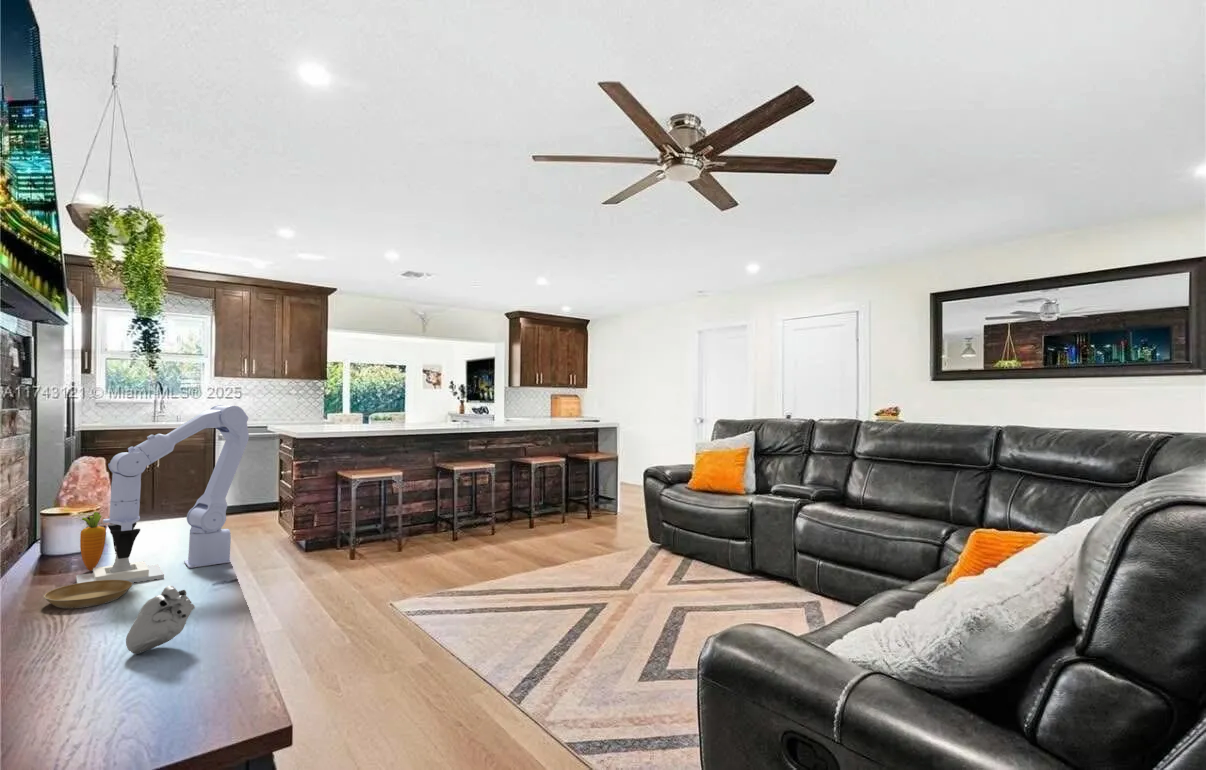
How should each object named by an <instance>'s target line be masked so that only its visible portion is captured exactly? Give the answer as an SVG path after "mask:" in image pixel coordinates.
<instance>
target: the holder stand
mask: <svg viewBox="0 0 1206 770" xmlns="http://www.w3.org/2000/svg"><path fill="white" fill-rule="evenodd" d="M129 563H130V565H131V566H132V569H131V570H129V571H122V572H114V573H111V571H110V569H111V568H112V567H113V565H114V564H112V565H105V566H96V567H95V568H93V570H92V572H91V573H81V574H76V578H75V579H76V580H75V581H76V584H77V583H83V582H90V581H98V580H125V581H130V582H131V583H132V584H135V583H134V582H137V583H141V582H140V581H143V582H147V581H146V580H150V581H155V580H154V579H157V580H162V578H163V579H165V573H164V572H163V570H162V569H161V567H160V566H159V564H150V565H147V564H146V561H145V560H144V561H143V560H142V561H135V562H129Z"/></svg>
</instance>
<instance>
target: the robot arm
mask: <svg viewBox="0 0 1206 770" xmlns="http://www.w3.org/2000/svg"><path fill="white" fill-rule="evenodd" d="M248 420H249V416H248V415H247V413H246V412H245V411H244V409H243V408H242V407H240V406H237V405H222V404H217V405H214V406H212V407H210V408H209V409H206V410H203V411H202V412H200V413H199V414H197V415H196V416H194V417H193V418H191V419H189V420H187V421H186V422H184V423H182V424H181V425H179V426H178V427H176V428H174V429H172V430H171V431H170V432H168V433H167V434H162V433H157V434H155V435H154V434H150V435H148V436H146V438H147V439H146V440H144V441H142V442H141V443H139V444H137V445H135V446H133V445H132V446H130V447H128V448H127V450H128V452H127V451H126V452H119V453H117V454H115V455H114V456H113V457H112V458H111V460H110V462H109V463H108V464H107V465H108V469H109V471H110V472H111V473H112V474H111V475H112V476H111V487H110V488H111V489H110V501H109V503H110V505H109V518H104V519H102V523H103V524H107V527H108V529H109V532H110V534H111V537H112V543H113V548H114V547H115V546H116V549H115V548H114V552H115V553H116V552H117V557H118V559H122V558H129V559H130V556H131V553H132V550H133V546H134V543H135V541H136V538H137V536H138V535H139V533H140V532H141V528H136V525H137V524H138V522H139V521H140V520H141V516H140V506H141V503H140V502H141V488H142V480H141V479H142V474H143V473H144V472H145V470H146V468H147V467H148V466H150V465H151V464H153V463H155V462H156V461H158V460H161V458H163V457H166V456H167V455H168V454H170V453H172V452H173V451H174V450H175V446H176V444H178V443H180V442H182V441H183V440H185V439H187V438H190V437H192V436H193V435H195V434H197V433H199V432H200V431H203V430H205V429H214V428H215V429H216V430H217V431H219V432H220V434H221V435H222V437H223V439H224V440H225V441H224V444H223V446H222V449H221V450H220V451H221V452H220V454H219V456H218V458H217V460H216V463H215V466H214V468H213V471H212V473H211V475H210V478H209V479H208V480H209V481H208V483H207V485H206V488H205V490H204V493H203V494H202V495H200V497H199V498H197V499H196V502H195V504H194V505H193V507H191V508H190V509H189V510H188V512H187V513H186V521H187V523H188V525H189V526H190V529H189V540H188V554H187V555H188V557H187V559H185V560H184V561H183V562H184V564H185V565H186V566H187V568H189V569H191V568H199V567H200V568H201V567H207V566H214V565H219V564H226V563H227V564H228V563H230V562H231V560H230V559H231V542H232V541H231V530H230V529H229V528H222V527H223V526H224V525H225V523H226V522H227V514H226V513H227V509H228V502H227V499H226V498H227V495H228V493H229V490H230V487H231V485H232V483H233V480H234V477H235V474H236V473H237V470H238V468H239V465H240V463H241V459H242V458H243V455H244V453H245V450H246V447H247V446H248V445H247V444H248V442H249V439H250V436H249V427H248ZM229 561H230V562H229Z"/></svg>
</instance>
